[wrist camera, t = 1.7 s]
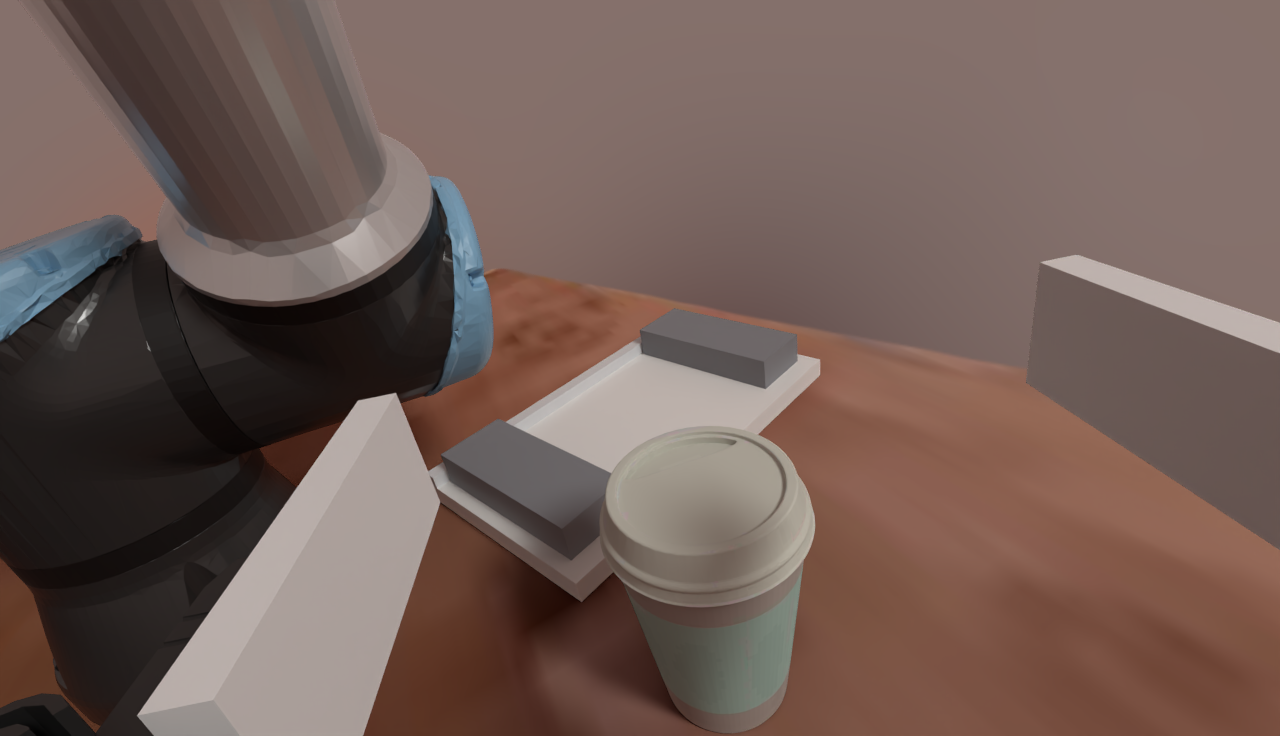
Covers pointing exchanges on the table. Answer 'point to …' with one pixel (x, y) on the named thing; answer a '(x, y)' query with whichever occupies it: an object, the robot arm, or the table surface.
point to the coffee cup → (712, 566)
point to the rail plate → (613, 435)
